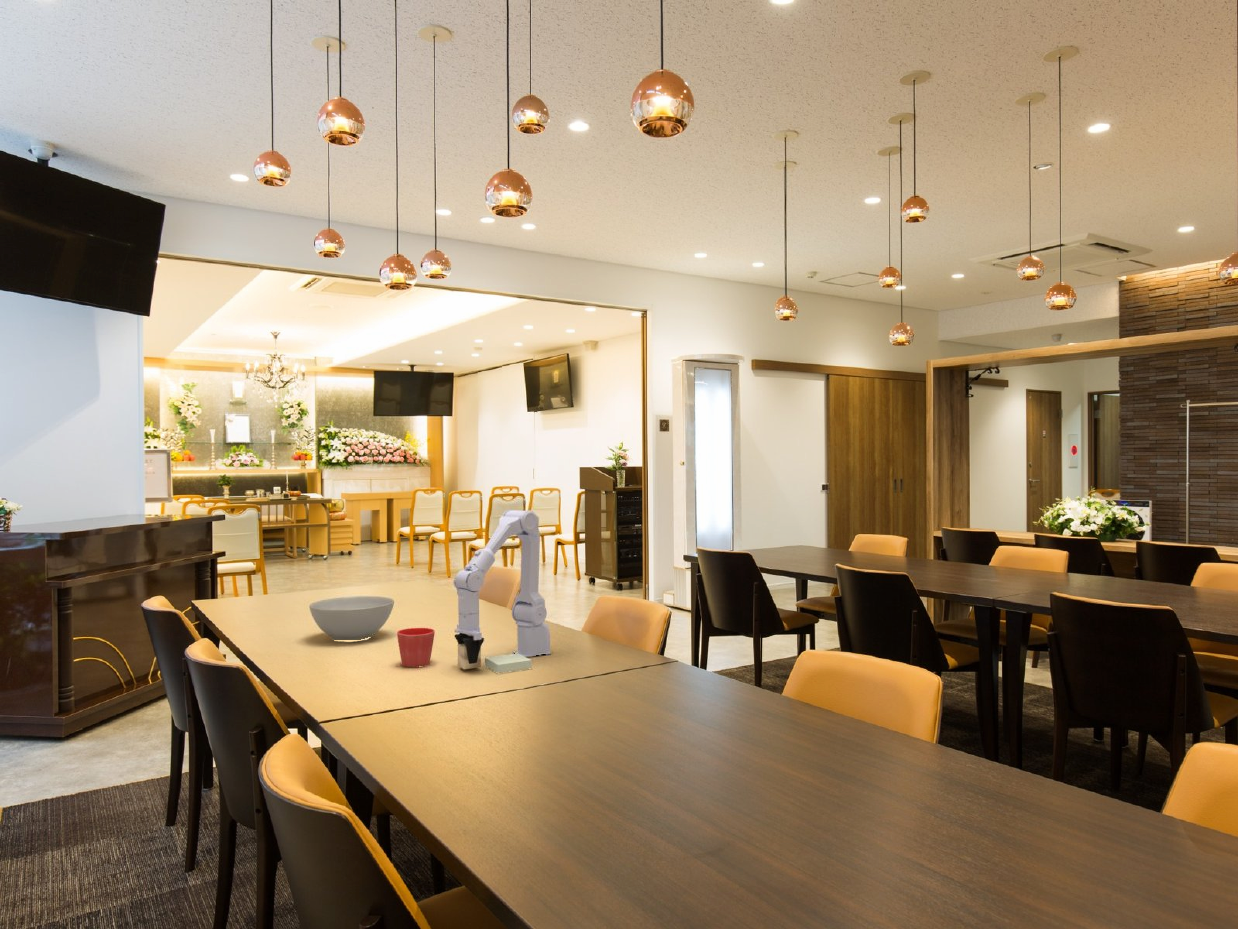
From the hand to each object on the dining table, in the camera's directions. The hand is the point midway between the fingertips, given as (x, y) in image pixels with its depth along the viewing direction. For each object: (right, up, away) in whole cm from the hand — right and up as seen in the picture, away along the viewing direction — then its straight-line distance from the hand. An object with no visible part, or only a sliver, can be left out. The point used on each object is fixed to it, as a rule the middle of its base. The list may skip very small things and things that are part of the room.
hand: (469, 661), depth 229 cm
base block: (+11, -3, +1) cm, 11 cm away
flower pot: (-17, -3, +6) cm, 18 cm away
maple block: (0, -1, 0) cm, 1 cm away
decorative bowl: (-47, -3, +42) cm, 63 cm away
